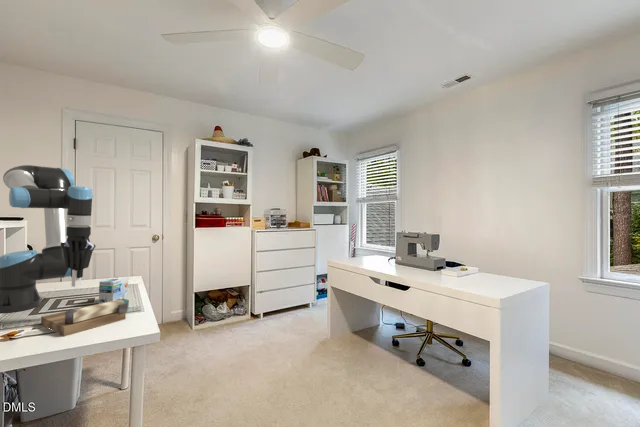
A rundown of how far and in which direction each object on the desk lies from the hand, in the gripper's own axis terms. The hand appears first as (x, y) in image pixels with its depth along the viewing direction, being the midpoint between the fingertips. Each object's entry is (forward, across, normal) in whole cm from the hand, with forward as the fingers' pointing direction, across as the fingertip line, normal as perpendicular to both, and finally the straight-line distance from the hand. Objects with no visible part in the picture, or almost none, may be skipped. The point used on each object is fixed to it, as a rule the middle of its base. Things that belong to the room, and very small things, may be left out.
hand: (76, 285), depth 121 cm
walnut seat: (+12, +8, -4) cm, 15 cm away
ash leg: (+9, +13, -4) cm, 16 cm away
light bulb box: (+13, 0, +20) cm, 24 cm away
